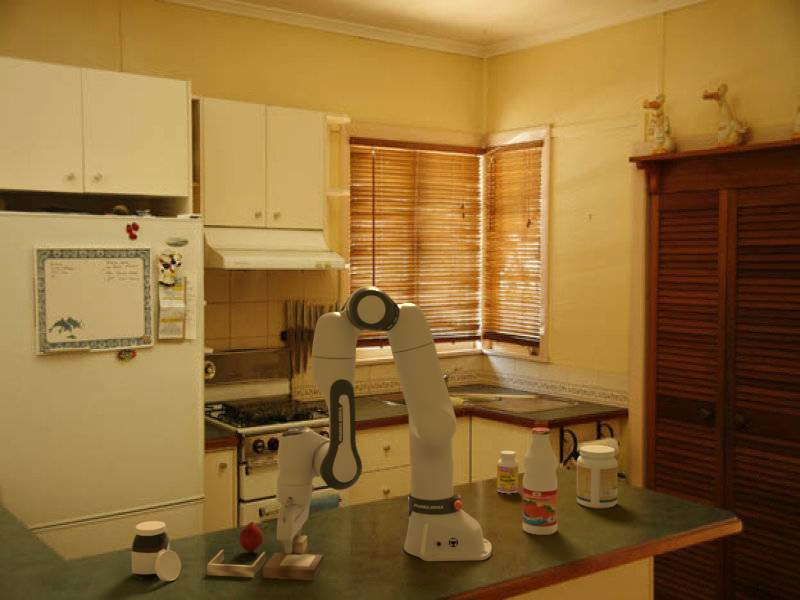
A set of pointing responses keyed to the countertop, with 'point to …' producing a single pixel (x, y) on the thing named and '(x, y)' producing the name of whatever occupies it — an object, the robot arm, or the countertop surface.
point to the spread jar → (154, 553)
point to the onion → (250, 537)
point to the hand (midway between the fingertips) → (292, 547)
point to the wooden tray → (271, 566)
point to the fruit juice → (540, 485)
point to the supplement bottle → (507, 473)
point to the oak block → (298, 545)
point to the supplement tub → (597, 476)
